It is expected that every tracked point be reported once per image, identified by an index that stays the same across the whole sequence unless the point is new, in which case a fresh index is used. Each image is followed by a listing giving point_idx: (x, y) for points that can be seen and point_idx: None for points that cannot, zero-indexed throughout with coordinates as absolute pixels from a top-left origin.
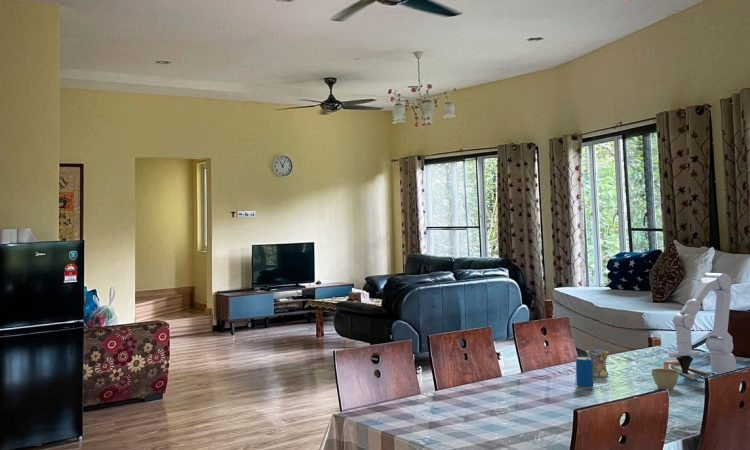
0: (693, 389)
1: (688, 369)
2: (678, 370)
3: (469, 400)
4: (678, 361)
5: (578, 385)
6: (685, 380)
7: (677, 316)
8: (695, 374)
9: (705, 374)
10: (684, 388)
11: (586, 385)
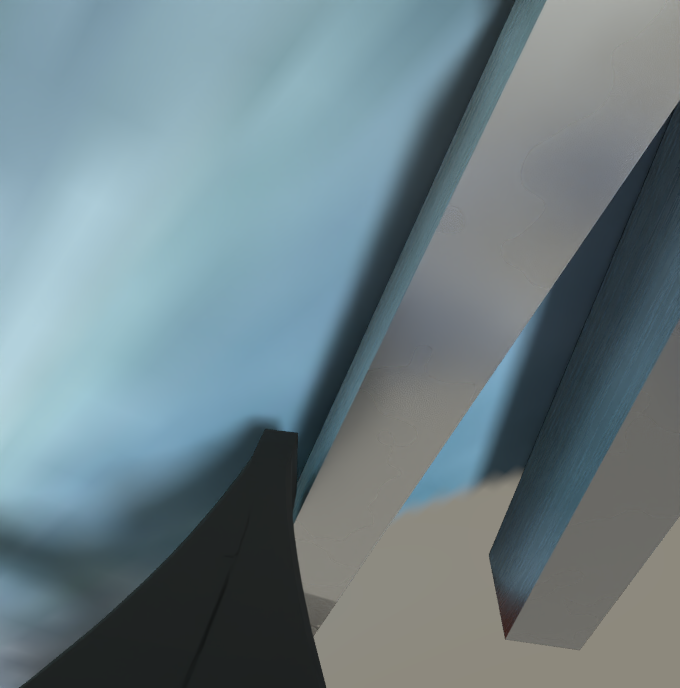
0: (59, 654)
1: (666, 298)
2: (461, 148)
3: None
4: (75, 645)
5: None
6: (189, 494)
7: None
8: None
9: (503, 604)
10: (2, 622)
11: None
